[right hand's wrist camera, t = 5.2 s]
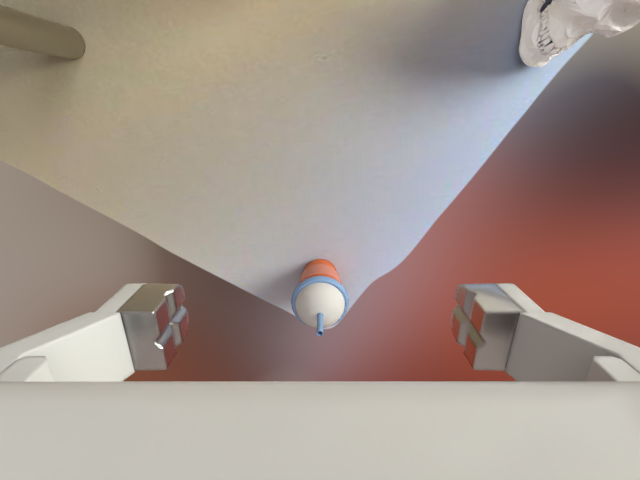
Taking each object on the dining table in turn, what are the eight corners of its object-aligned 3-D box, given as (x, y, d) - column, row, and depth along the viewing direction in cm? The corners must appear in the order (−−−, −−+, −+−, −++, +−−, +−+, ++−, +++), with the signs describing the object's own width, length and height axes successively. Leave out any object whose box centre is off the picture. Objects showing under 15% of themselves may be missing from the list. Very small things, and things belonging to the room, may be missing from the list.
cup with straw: (291, 289, 64) (281, 354, 48) (300, 246, 61) (293, 299, 44) (337, 298, 65) (344, 365, 48) (349, 256, 62) (360, 311, 45)
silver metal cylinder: (51, 27, 49) (-106, -20, 31) (80, 26, 49) (-61, -22, 31) (60, 59, 50) (-85, 33, 32) (88, 59, 50) (-41, 31, 32)
